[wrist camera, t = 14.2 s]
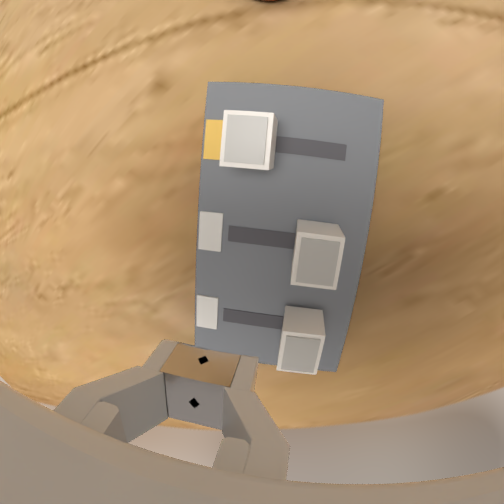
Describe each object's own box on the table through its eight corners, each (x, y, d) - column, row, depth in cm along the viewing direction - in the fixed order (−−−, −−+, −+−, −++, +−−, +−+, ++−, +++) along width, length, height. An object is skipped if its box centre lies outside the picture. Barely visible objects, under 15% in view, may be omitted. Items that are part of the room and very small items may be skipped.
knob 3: (322, 309, 25) (325, 337, 21) (314, 346, 26) (316, 376, 22) (285, 305, 25) (282, 332, 21) (280, 341, 27) (276, 371, 23)
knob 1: (278, 120, 21) (273, 112, 17) (273, 167, 23) (268, 170, 19) (236, 117, 22) (223, 109, 18) (232, 164, 23) (218, 166, 19)
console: (372, 107, 24) (384, 99, 20) (333, 348, 31) (336, 373, 27) (218, 91, 25) (204, 81, 21) (204, 330, 32) (192, 352, 28)
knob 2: (337, 224, 23) (345, 238, 19) (330, 269, 24) (336, 291, 20) (297, 219, 23) (297, 232, 19) (291, 264, 24) (290, 285, 20)
